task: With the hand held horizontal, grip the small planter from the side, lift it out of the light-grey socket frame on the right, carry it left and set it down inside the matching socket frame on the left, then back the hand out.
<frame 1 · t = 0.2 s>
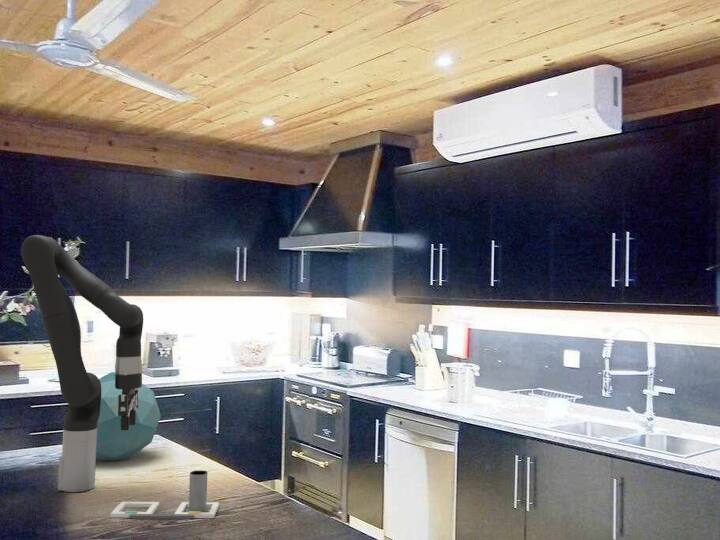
hand: (128, 427, 197), 18 cm above the countertop, fingers open, 8 cm apart
sculpture: (114, 459, 232), on the countertop
planter: (197, 512, 178), resting in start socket
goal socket: (135, 511, 177), on the countertop
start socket: (197, 511, 178), on the countertop
thin gray bar: (161, 518, 172), on the countertop
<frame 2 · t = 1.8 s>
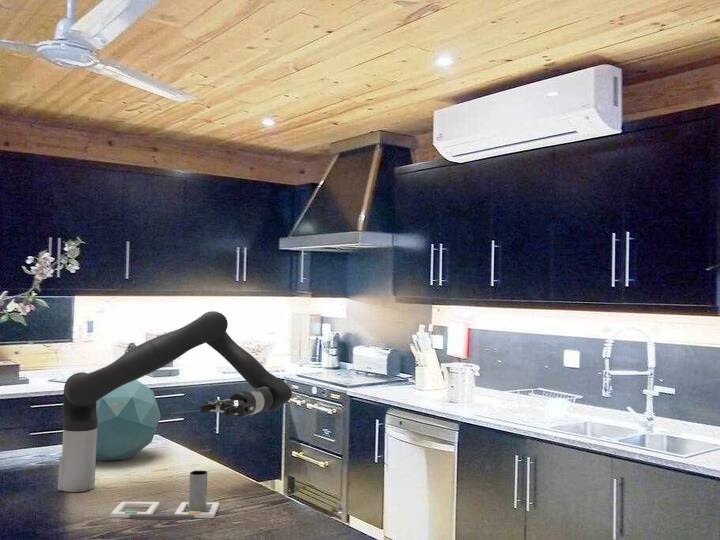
hand: (213, 410, 192), 24 cm above the countertop, fingers open, 8 cm apart
nothing on the countertop moved.
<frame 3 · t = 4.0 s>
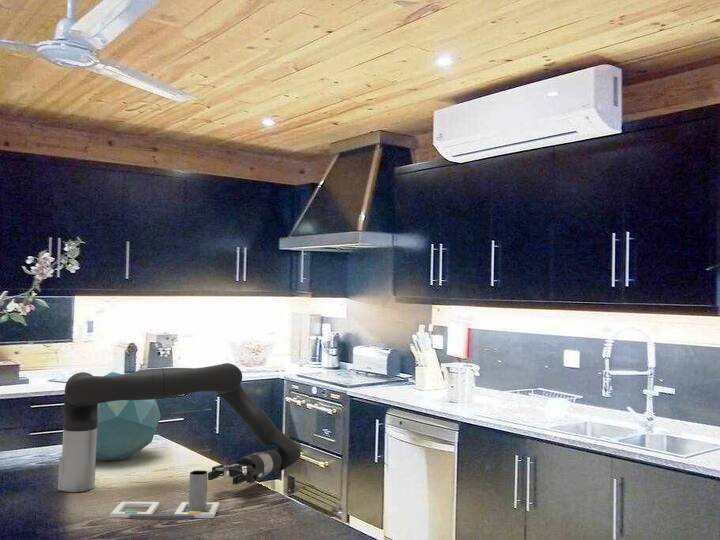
hand: (221, 478, 187), 6 cm above the countertop, fingers open, 8 cm apart
nothing on the countertop moved.
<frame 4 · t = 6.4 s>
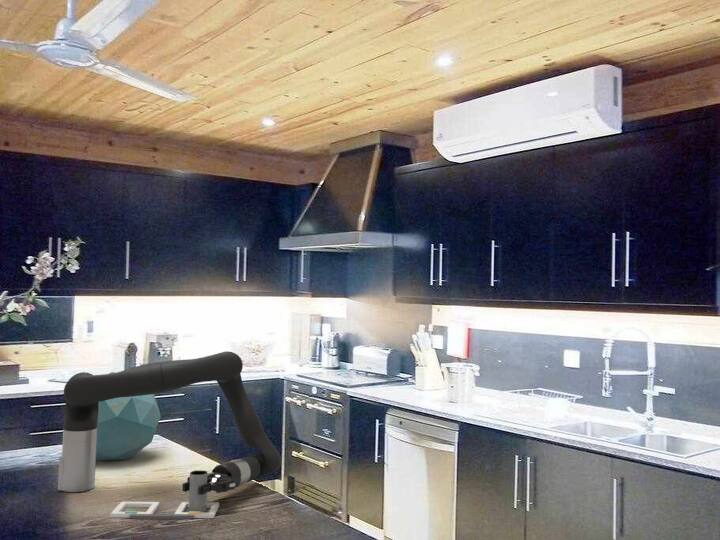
hand: (191, 489, 176), 6 cm above the countertop, fingers closed on planter, 4 cm apart
planter: (197, 512, 178), resting in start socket, touching gripper
everything else where it was.
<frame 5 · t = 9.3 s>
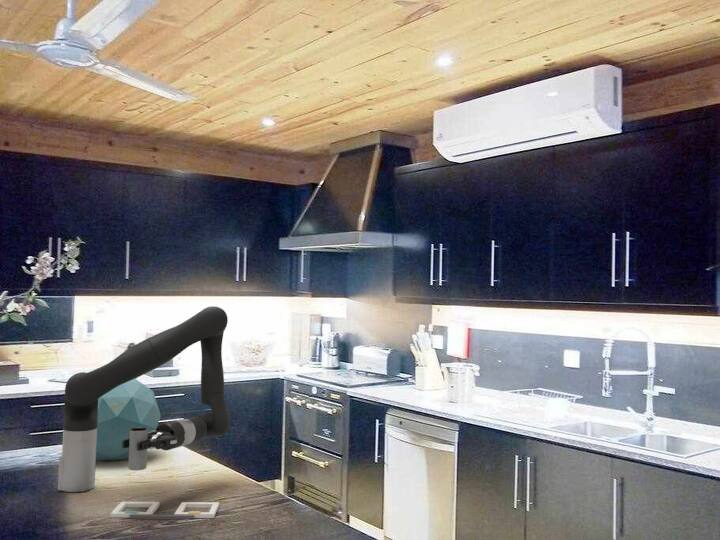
hand: (130, 445, 175), 18 cm above the countertop, fingers closed on planter, 4 cm apart
planter: (137, 469, 177), point 11 cm above the countertop, touching gripper
everything else where it was.
when the fingers open (7 cm above the countertop, at t = 11.7 s): planter stays where it is, resting in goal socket.
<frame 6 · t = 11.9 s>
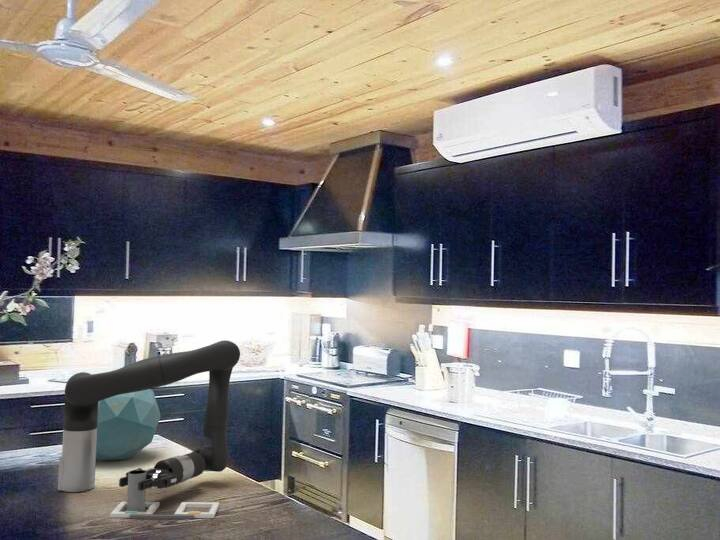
hand: (129, 484, 175), 7 cm above the countertop, fingers open, 6 cm apart
planter: (135, 512, 177), resting in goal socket
everything else where it was.
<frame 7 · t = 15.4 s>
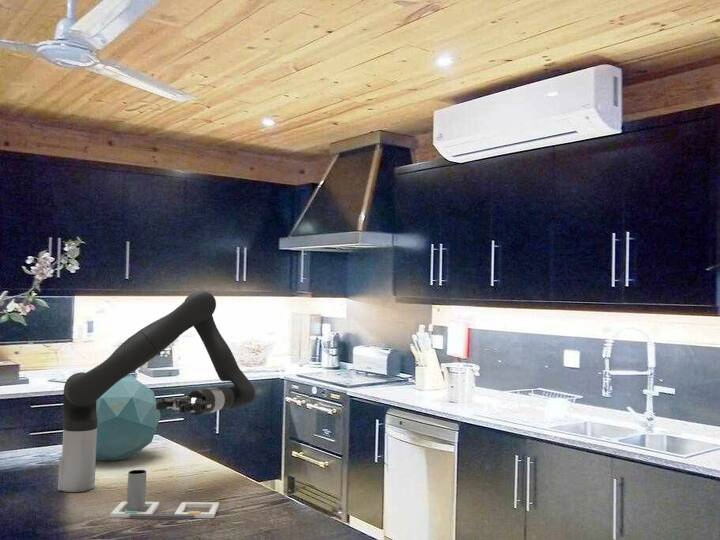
hand: (168, 407, 188), 26 cm above the countertop, fingers open, 8 cm apart
nothing on the countertop moved.
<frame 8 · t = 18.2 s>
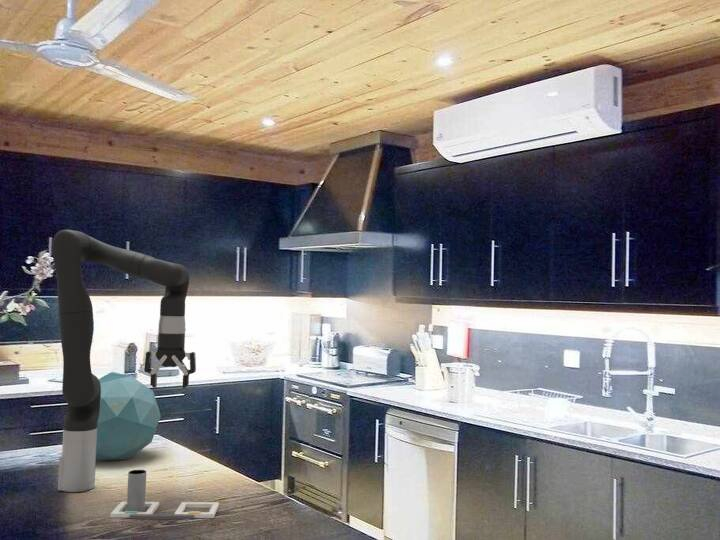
hand: (169, 387, 195), 30 cm above the countertop, fingers open, 8 cm apart
nothing on the countertop moved.
at the end: planter 0.1 cm off-centre on the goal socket, point 0.0 cm above the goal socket's base; planter tilted 0°; the gripper is holding nothing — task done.
